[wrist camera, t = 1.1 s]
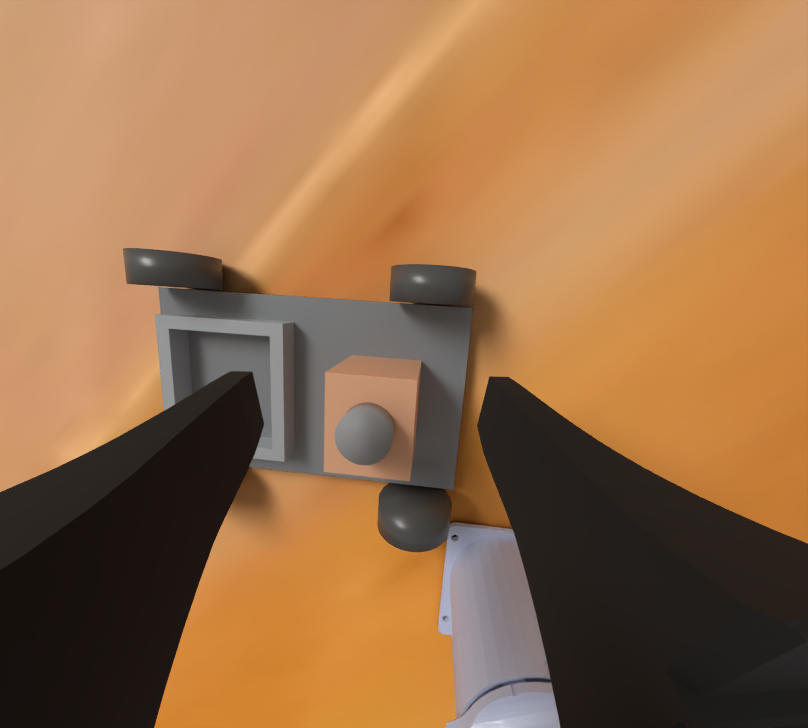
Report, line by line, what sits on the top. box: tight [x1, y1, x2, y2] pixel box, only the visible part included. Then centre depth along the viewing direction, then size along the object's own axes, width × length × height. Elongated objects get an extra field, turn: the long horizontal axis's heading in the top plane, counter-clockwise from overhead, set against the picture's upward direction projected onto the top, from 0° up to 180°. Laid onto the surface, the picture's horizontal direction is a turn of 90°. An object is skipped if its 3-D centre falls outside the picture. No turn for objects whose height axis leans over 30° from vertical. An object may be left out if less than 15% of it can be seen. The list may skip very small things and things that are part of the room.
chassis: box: [123, 248, 476, 552], centre depth 19 cm, size 16×20×5 cm
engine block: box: [324, 355, 421, 481], centre depth 17 cm, size 5×4×6 cm
